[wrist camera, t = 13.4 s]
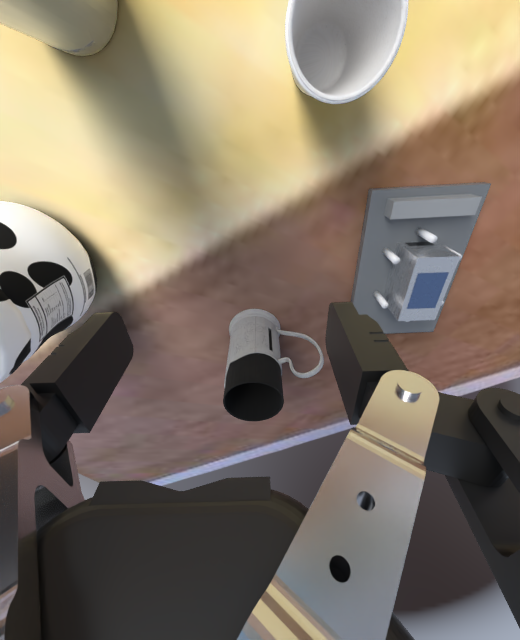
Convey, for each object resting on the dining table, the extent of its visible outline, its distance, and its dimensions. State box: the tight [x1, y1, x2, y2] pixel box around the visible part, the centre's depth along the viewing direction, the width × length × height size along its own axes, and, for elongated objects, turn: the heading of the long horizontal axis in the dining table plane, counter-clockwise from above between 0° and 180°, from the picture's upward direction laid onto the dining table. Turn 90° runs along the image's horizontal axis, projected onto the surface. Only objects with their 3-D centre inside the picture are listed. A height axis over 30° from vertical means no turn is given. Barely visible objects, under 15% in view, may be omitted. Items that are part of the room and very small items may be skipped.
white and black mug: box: [223, 309, 324, 421], centre depth 39 cm, size 9×14×15 cm, turn 117°
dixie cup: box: [285, 0, 408, 104], centre depth 23 cm, size 8×8×10 cm
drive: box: [383, 241, 461, 321], centre depth 36 cm, size 9×5×6 cm, turn 2°
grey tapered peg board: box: [351, 182, 491, 334], centre depth 37 cm, size 22×14×5 cm, turn 3°
